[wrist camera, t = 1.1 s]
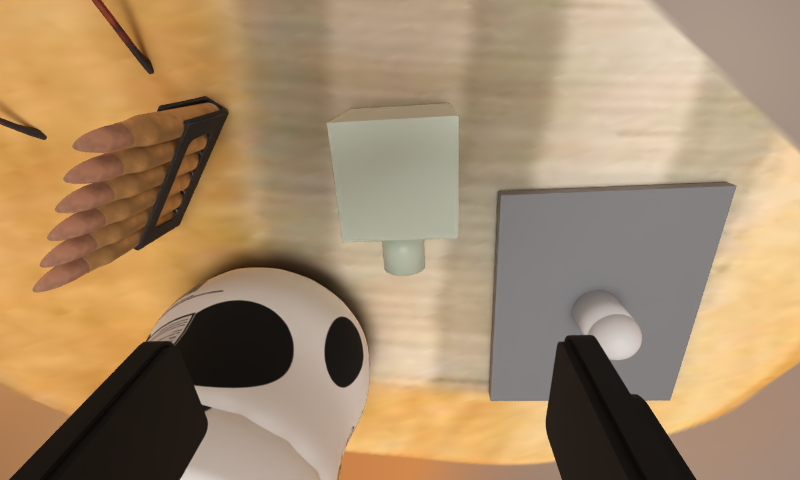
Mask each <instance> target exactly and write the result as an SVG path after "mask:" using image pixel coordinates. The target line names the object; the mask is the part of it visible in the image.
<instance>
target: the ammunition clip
mask: <svg viewBox="0 0 800 480" xmlns="http://www.w3.org/2000/svg"><path fill="white" fill-rule="evenodd" d="M227 115H228V110H226V109H225V108H223V107H222V106H220V105H218V104H217V103H215V102H214V101H212V100H211V99H209V98H207V97H206V96H204V97H200V98H195V99H191V100H186V101H181V102H176V103H171V104H166V105H161V106H159V108H158V111H157V112H153V113H147V114H142V115H137V116H134V117H131V118H129V119H127V120H125V121H123V122H119V123H115V124H113V125H109V126H104V127H101V128H99V129H96V130H93V131H91V132H88V133H86V134H85V135H83V136H81V137H80V138H79V139H77V140H76V141H75V143H74V144H73V148H74V149H75V150H78V151H81V152H91V153H105V152H108V153H105V154H103V155H100V156H97V157H94V158H91V159H89V160H87V161H84V162H82V163H80V164H79V165H77V166H75V167H74V168H73V169H71V170H70V171H69V172H68V173H67V174H66V175H65V177H64V181H65V182H67V183H73V184H86V183H92V184H89V185H86V186H84V187H82V188H80V189H78V190H76V191H74V192H72V193H71V194H69V195H68V196H67V197H65V198H64V199H63V200H62V201H61V202H60V203H59V204H58V205H57V206H56V208H55V211H56V212H58V213H75V212H77V213H75V214H73V215H72V216H70V217H68V218H67V219H65V220H64V221H62V222H61V223H59V224H58V225H57V226H56V227H55V228H54V229H53V230H52V231H51V232H50V233H49V235H48V237H47V239H48V240H50V241H60V240H65V241H64V242H62V243H61V244H59V245H58V246H56V247H55V248H54V249H52V250H51V251H50V252H49V253H48V254H47V255H46V256H45V257H44V258H43V259H42V261H41V263H40V266H41V267H53V266H55V267H54V268H52V269H51V270H50V271H49V272H47V273H46V274H45V275H44V276H43V277H42V278H41V279H40V280H39V281H38V282H37V283H36V285H35V286H34V288H33V292H44V291H48V290H51V289H54V288H57V287H60V286H63V285H65V284H67V283H69V282H72V281H74V280H76V279H77V278H79V277H81V276H83V275H84V274H86V273H89V272H91V271H92V270H94V269H96V268H98V267H101V266H103V265H106V264H109V263H110V262H112V261H114V260H115V259H117V258H119V257H120V256H122V255H123V254H125V253H127V252H128V251H130V250H131V249H133V248H134V249H135V250H140V249H141V248H143V247H145V246H146V245H148V244H149V243H151V242H153V241H154V240H156V239H158V238H159V237H161V236H162V235H164V234H166V233H167V232H169V231H170V230H172V229H174V228H175V227H177V226H179V225H180V222H181V220H182V218H183V216H184V213H185V211H186V209H187V206H188V204H189V202H190V200H191V197H192V195H193V193H194V191H195V188H196V186H197V184H198V181H199V179H200V177H201V175H202V172H203V170H204V168H205V166H206V163H207V161H208V159H209V156H210V154H211V152H212V150H213V147H214V145H215V143H216V140H217V138H218V136H219V134H220V131H221V129H222V127H223V125H224V122H225V120H226V118H227ZM66 239H67V240H66Z"/></svg>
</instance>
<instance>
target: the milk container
mask: <svg viewBox="0 0 800 480" xmlns="http://www.w3.org/2000/svg"><path fill="white" fill-rule="evenodd" d="M146 341H170V342H172V343H173V344H174V346H175V347H177V348H179V350H180V352H181V354H182V357H183V359H184V362H185V364H186V367H187V369H188V372H189V374H190V377H191V379H192V382H193V384H194V387H195V389H196V392H197V394H198V397H199V399H200V402H201V404H202V407H203V409H204V412H205V414H206V417H207V420H208V429H207V432H206V435H205V437H204V438H203V440H202V442H201V444H200V446H199V447H198V449H197V451H196V453H195V454H194V456H193V458H192V460H191V461H190V463H189V465H188V467H187V468H186V470H185V472H184V474H183V475H182V477H181V479H180V480H339V476H340V470H341V463H342V459H343V455H344V451H345V448H346V446H347V443H348V441H349V439H350V437H351V435H352V434H353V432H354V430H355V428H356V426H357V424H358V422H359V420H360V417H361V415H362V413H363V410H364V407H365V403H366V400H367V395H368V390H369V381H370V362H369V353H368V346H367V342H366V338H365V335H364V333H363V330H362V328H361V326H360V324H359V323H358V321H357V319H356V318H355V316H354V315H353V313H352V312H351V311H350V310H349V308H348V307H347V306H346V304H345V303H344V302H343V301H342V300H341V299H340V298H339V297H338V296H336V295H335V294H334V293H333V292H331V291H330V290H328V289H327V288H325V287H324V286H322V285H321V284H319V283H318V282H316V281H314V280H313V279H310V278H308V277H305V276H303V275H300V274H296V273H293V272H290V271H287V270H283V269H279V268H242V269H236V270H231V271H228V272H224V273H221V274H219V275H216V276H214V277H212V278H210V279H208V280H207V281H205V282H203V283H201V284H199V285H198V286H196V287H194V288H193V289H191V290H190V291H189V292H187V293H186V294H184V295H183V296H182V297H181V298H179V299H178V300H177V301H176V302H175V303H174V304H173V305H172V306H171V307H170V308H169V309H168V310H167V311H166V312H165V313H164V314H163V316H162V317H161V318H160V319H159V321H158V322H157V323H156V325H155V326H154V328H153V330H152V331H151V333H150V335H149V337H148V338H147V340H146Z"/></svg>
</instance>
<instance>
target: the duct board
mask: <svg viewBox="0 0 800 480" xmlns="http://www.w3.org/2000/svg"><path fill="white" fill-rule="evenodd" d="M735 189H736V186H735V185H733V184H730V183H727V182H713V183H688V184H664V185H639V186H615V187H591V188H566V189H542V190H517V191H498V211H497V232H496V253H495V274H494V295H493V316H492V337H491V357H490V378H489V396H490V401H549V395H550V388H551V382H552V375H553V368H554V362H555V355H556V348H557V344H558V342H564V340H565V337H566V336H567V335H593V336H595V338H596V339H597V340H598V342H599V344H600V345H601V347H602V348H603V350H604V352H605V353H606V355H607V356H608V358H609V360H610V361H611V363H612V365H613V366H614V368H615V369H616V371H617V373H618V374H619V376H620V378H621V379H622V381H623V382H624V384H625V386H626V387H627V389H628V391H629V392H630V394H638V395H639V396H640V397H642V398H643V399H644V400H670V399H671V396H672V393H673V389H674V386H675V383H676V380H677V376H678V373H679V370H680V367H681V364H682V360H683V357H684V354H685V351H686V347H687V344H688V341H689V338H690V334H691V331H692V328H693V325H694V322H695V318H696V315H697V312H698V309H699V305H700V302H701V299H702V296H703V292H704V289H705V286H706V283H707V280H708V276H709V273H710V270H711V267H712V263H713V260H714V257H715V254H716V250H717V247H718V244H719V241H720V237H721V234H722V231H723V228H724V225H725V221H726V218H727V215H728V212H729V208H730V205H731V202H732V199H733V195H734V192H735Z"/></svg>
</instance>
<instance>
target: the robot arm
mask: <svg viewBox="0 0 800 480" xmlns="http://www.w3.org/2000/svg"><path fill="white" fill-rule="evenodd" d="M207 429H208V420H207V417H206V414H205V412H204V409H203V407H202V404H201V402H200V399H199V397H198V394H197V392H196V389H195V387H194V384H193V382H192V379H191V377H190V374H189V372H188V369H187V367H186V364H185V362H184V359H183V357H182V354H181V352H180V350H179V348H177V347H175V346H174V344H173V343H172V342H170V341H146V342H143V343H142V344H140V345H139V346H138V347H137V348H136V349H135V350H134V351H133V352H132V353H131V354H130V356H129V357H128V358H127V359H126V360H125V361H124V362H123V363H122V364H121V365H120V366H119V367H118V368H117V369H116V370H115V371H114V372H113V373H112V374H111V375H110V376H109V377H108V378H107V379H106V380H105V381H104V382H103V383H102V384H101V385H100V386H99V387H98V389H97V390H96V391H95V392H94V393H93V394H92V395H91V396H90V397H89V398H88V399H87V400H86V401H85V402H84V403H83V404H82V405H81V406H80V407H79V408H78V409H77V410H76V411H75V412H74V413H73V414H72V415H71V416H70V417H69V418H68V419H67V421H66V422H65V423H64V424H63V425H62V426H61V427H60V428H59V429H58V430H57V431H56V432H55V433H54V434H53V435H52V436H51V437H50V438H49V439H48V440H47V441H46V442H45V443H44V444H43V445H42V446H41V448H39V449H38V451H36V452H35V454H34V455H33V456H32V457H31V458H30V459H29V460H28V461H27V462H26V463H25V464H24V465H23V466H22V467H21V468H20V469H19V470H18V471H17V472H16V473H15V474H14V475H13V476H12V477H11V478H10V479H9V480H180V479H181V477H182V475H183V474H184V472H185V470H186V468H187V467H188V465H189V463H190V461H191V460H192V458H193V456H194V454H195V453H196V451H197V449H198V447H199V446H200V444H201V442H202V440H203V438H204V437H205V435H206V432H207ZM546 431H547V435H548V439H549V442H550V445H551V448H552V451H553V454H554V457H555V460H556V463H557V466H558V469H559V472H560V475H561V478H562V480H696V478H695V477H694V475H693V474H692V472H691V470H690V469H689V467H688V466H687V464H686V463H685V461H684V460H683V458H682V457H681V455H680V454H679V452H678V450H677V449H676V447H675V446H674V444H673V443H672V441H671V440H670V438H669V436H668V435H667V433H666V432H665V430H664V429H663V427H662V426H661V424H660V423H659V421H658V419H657V418H656V416H655V415H654V413H653V412H652V410H651V409H650V407H649V406H648V404H647V403H646V402H645V400H644V399H643V398H642V397H640V396H639V395H638V394H630V392H629V391H628V389H627V387H626V386H625V384H624V382H623V381H622V379H621V378H620V376H619V374H618V373H617V371H616V369H615V368H614V366H613V365H612V363H611V361H610V360H609V358H608V356H607V355H606V353H605V352H604V350H603V348H602V347H601V345H600V344H599V342H598V340H597V339H596V338H595V336H593V335H567V336H566V337H565V340H564V342H558V344H557V348H556V355H555V362H554V368H553V375H552V382H551V388H550V395H549V402H548V408H547V415H546Z"/></svg>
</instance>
